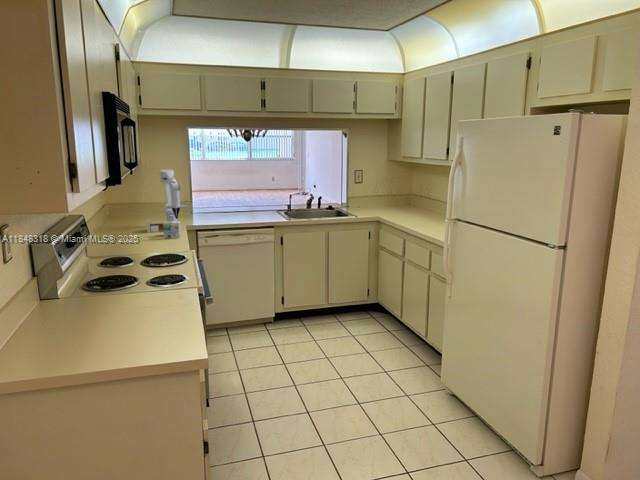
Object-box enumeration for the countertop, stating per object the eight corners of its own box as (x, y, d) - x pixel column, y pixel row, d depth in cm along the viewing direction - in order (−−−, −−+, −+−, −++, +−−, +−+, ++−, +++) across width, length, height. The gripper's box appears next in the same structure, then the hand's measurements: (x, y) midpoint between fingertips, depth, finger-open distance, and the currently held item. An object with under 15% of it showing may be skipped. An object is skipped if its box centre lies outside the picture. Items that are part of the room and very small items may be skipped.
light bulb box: (163, 238, 322) (162, 223, 320) (164, 236, 328) (163, 221, 326) (180, 238, 324) (179, 222, 322) (180, 236, 331) (180, 220, 328)
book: (151, 230, 342) (150, 226, 341) (158, 229, 344) (158, 225, 343) (151, 232, 335) (150, 228, 334) (158, 231, 336) (158, 227, 335)
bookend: (147, 230, 342) (146, 219, 340) (150, 229, 343) (149, 218, 341) (147, 232, 333) (146, 221, 331) (150, 232, 334) (149, 221, 332)
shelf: (147, 231, 344) (147, 224, 343) (173, 230, 350) (172, 222, 349) (147, 234, 333) (146, 227, 332) (173, 233, 339) (173, 225, 337)
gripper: (164, 200, 335) (166, 219, 338) (186, 200, 339) (187, 218, 342) (164, 199, 342) (166, 218, 345) (185, 198, 346) (186, 217, 349)
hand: (176, 218), depth 344 cm, fingers closed
